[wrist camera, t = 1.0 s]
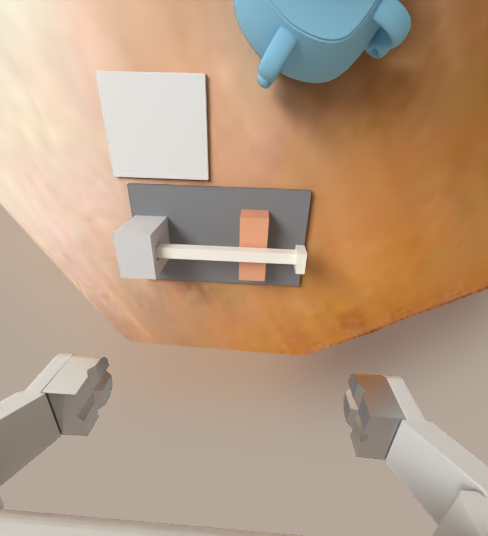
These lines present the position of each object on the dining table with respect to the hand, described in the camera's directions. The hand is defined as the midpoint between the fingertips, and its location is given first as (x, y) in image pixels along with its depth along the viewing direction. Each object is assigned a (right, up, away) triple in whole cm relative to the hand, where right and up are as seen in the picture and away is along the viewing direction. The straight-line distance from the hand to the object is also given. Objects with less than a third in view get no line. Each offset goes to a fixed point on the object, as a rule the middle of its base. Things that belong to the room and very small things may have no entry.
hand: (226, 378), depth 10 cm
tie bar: (-3, +6, +33) cm, 33 cm away
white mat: (-11, +23, +31) cm, 40 cm away
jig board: (-3, +9, +38) cm, 39 cm away
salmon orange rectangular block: (+2, +8, +36) cm, 37 cm away
